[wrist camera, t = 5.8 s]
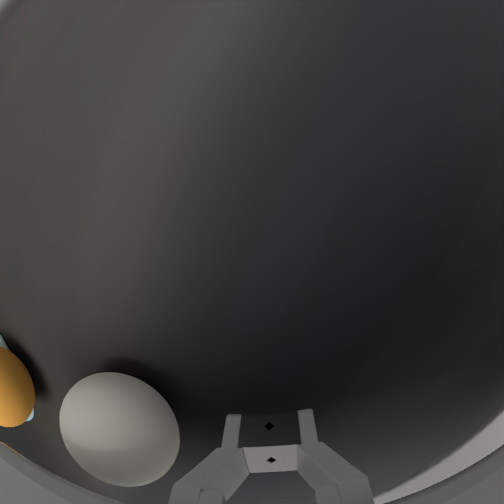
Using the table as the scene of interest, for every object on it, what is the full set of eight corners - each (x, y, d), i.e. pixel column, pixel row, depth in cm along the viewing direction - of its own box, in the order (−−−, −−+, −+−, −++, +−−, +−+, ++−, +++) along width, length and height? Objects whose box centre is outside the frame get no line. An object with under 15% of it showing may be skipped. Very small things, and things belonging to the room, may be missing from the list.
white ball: (17, 399, 6) (92, 342, 10) (78, 475, 7) (129, 417, 12) (97, 457, 4) (180, 358, 9) (165, 522, 6) (211, 440, 10)
